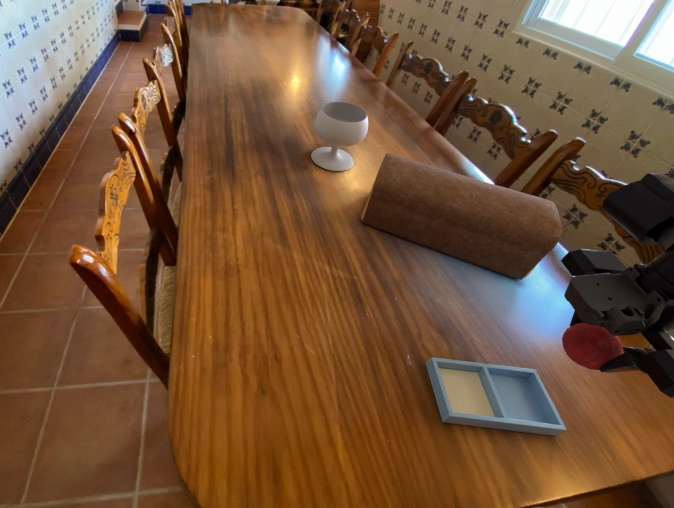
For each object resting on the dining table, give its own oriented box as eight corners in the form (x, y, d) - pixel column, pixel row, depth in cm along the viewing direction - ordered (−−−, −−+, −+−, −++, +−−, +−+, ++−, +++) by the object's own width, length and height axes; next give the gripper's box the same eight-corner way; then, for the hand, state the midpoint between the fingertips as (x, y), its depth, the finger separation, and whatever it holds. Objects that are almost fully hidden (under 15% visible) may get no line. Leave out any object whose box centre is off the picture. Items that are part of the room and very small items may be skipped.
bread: (370, 191, 92) (388, 144, 83) (518, 240, 82) (557, 192, 73) (358, 224, 82) (376, 174, 73) (524, 284, 72) (569, 235, 63)
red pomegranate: (608, 380, 48) (655, 352, 43) (567, 379, 48) (610, 350, 43) (578, 339, 53) (617, 310, 48) (540, 338, 53) (576, 308, 47)
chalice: (336, 180, 95) (351, 130, 85) (297, 156, 102) (306, 108, 93) (366, 162, 102) (382, 114, 93) (327, 141, 110) (339, 95, 100)
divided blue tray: (556, 436, 51) (567, 430, 49) (442, 422, 51) (450, 415, 50) (526, 376, 57) (535, 369, 56) (425, 364, 58) (431, 357, 56)
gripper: (560, 212, 46) (497, 285, 56) (685, 354, 32) (570, 417, 42) (647, 220, 46) (568, 292, 56) (812, 367, 31) (666, 428, 42)
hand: (587, 347), depth 49 cm, fingers closed on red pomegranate, 6 cm apart
